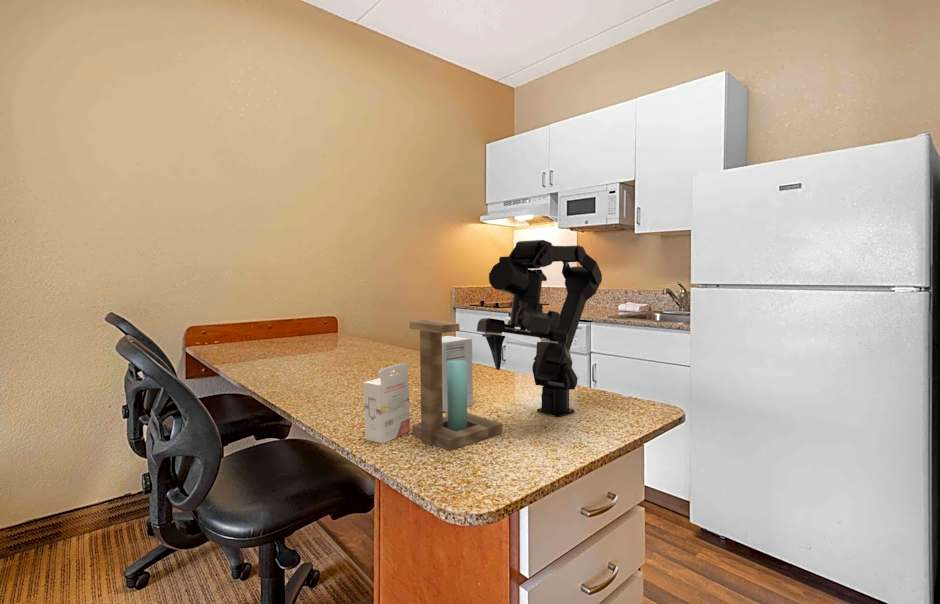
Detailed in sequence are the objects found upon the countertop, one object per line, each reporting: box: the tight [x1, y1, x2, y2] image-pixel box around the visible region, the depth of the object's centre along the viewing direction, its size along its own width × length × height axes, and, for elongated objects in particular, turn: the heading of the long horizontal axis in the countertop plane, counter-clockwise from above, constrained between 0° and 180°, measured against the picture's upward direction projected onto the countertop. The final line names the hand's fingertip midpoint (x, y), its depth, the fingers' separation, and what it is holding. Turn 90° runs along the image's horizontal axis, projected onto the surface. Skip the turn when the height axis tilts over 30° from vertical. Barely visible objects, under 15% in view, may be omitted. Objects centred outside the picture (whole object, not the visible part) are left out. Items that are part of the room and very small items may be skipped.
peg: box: [446, 360, 468, 431], centre depth 97 cm, size 4×4×15 cm
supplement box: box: [442, 335, 474, 413], centre depth 119 cm, size 10×9×17 cm
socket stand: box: [408, 319, 503, 452], centre depth 97 cm, size 15×12×23 cm
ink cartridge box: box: [362, 362, 411, 444], centre depth 97 cm, size 9×5×15 cm, turn 148°
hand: (518, 372), depth 100 cm, fingers open, 9 cm apart
